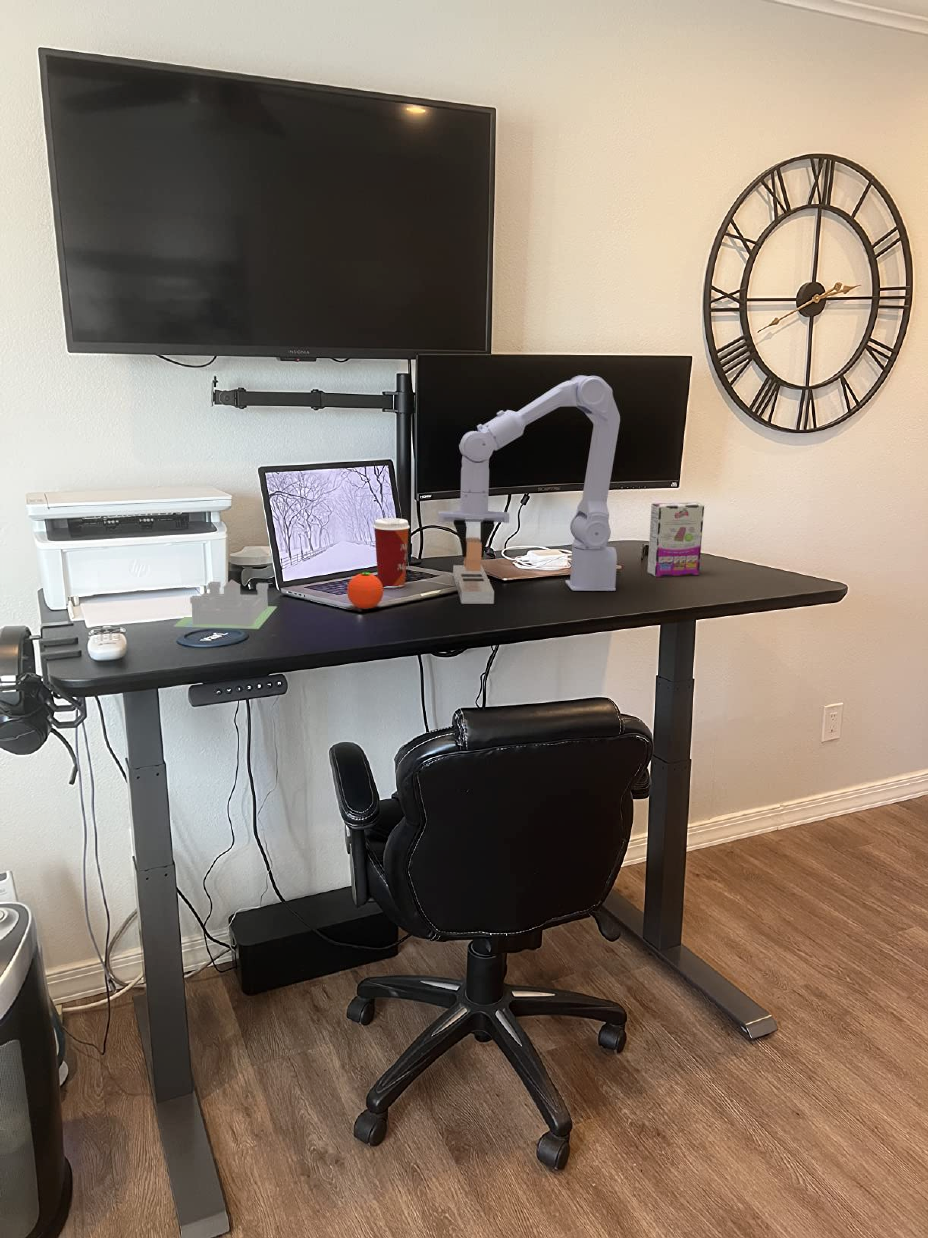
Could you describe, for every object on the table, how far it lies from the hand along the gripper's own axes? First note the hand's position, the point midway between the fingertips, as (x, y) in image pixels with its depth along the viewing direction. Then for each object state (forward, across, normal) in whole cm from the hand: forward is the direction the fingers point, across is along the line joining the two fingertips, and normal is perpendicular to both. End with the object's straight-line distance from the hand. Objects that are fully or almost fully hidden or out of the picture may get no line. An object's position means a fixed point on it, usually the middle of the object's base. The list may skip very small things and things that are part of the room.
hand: (472, 556), depth 187 cm
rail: (+7, 0, 0) cm, 7 cm away
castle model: (+8, +47, +21) cm, 52 cm away
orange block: (+3, 0, 0) cm, 3 cm away
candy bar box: (+7, -48, -15) cm, 51 cm away
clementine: (+7, +22, +15) cm, 28 cm away
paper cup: (+7, +17, -3) cm, 19 cm away
